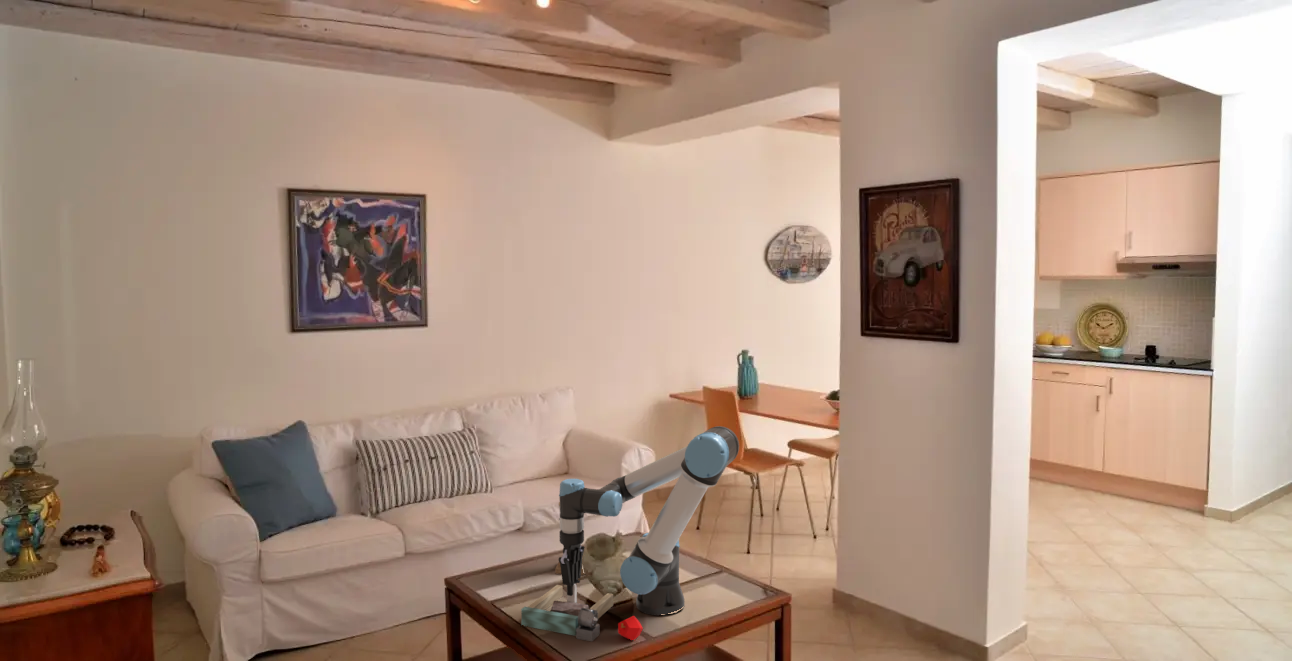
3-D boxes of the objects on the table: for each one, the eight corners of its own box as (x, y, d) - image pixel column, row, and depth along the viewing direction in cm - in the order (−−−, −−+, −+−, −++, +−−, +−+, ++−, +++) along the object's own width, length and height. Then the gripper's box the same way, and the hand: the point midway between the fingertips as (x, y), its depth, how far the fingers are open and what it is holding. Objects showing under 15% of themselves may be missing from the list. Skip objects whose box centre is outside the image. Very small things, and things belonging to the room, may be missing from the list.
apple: (635, 611, 244) (617, 609, 238) (650, 622, 239) (632, 621, 233) (626, 633, 243) (607, 632, 238) (641, 645, 239) (623, 644, 233)
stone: (587, 625, 247) (587, 609, 247) (547, 625, 247) (547, 610, 247) (590, 612, 256) (589, 597, 256) (551, 612, 256) (551, 597, 256)
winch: (601, 634, 240) (601, 607, 240) (593, 641, 236) (593, 614, 235) (582, 631, 243) (582, 604, 242) (574, 638, 238) (574, 611, 237)
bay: (613, 605, 261) (613, 589, 261) (578, 636, 239) (578, 619, 239) (557, 595, 269) (557, 580, 269) (518, 624, 247) (518, 608, 246)
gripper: (570, 522, 263) (571, 594, 265) (550, 534, 251) (550, 610, 253) (592, 525, 260) (592, 598, 262) (572, 537, 248) (572, 614, 250)
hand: (571, 603), depth 257 cm, fingers closed
